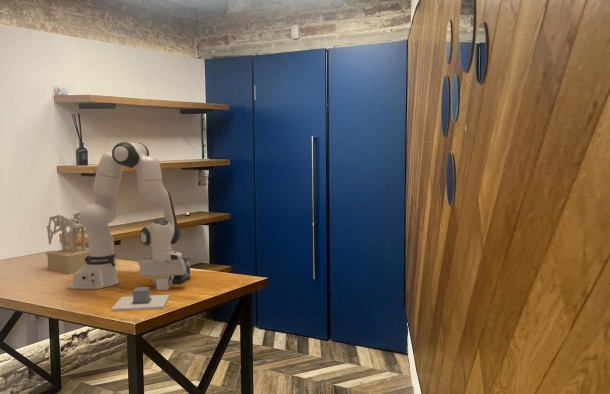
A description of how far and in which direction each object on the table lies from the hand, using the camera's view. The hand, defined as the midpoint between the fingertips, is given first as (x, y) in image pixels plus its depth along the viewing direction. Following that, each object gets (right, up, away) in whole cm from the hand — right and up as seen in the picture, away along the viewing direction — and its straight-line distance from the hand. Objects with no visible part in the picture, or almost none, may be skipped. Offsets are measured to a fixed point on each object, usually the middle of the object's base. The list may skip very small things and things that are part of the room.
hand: (163, 285), depth 225 cm
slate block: (-2, -3, -22) cm, 23 cm away
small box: (+4, -1, +14) cm, 14 cm away
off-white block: (0, -2, 0) cm, 2 cm away
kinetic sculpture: (-60, +1, +41) cm, 73 cm away
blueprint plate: (-2, -4, -22) cm, 23 cm away
